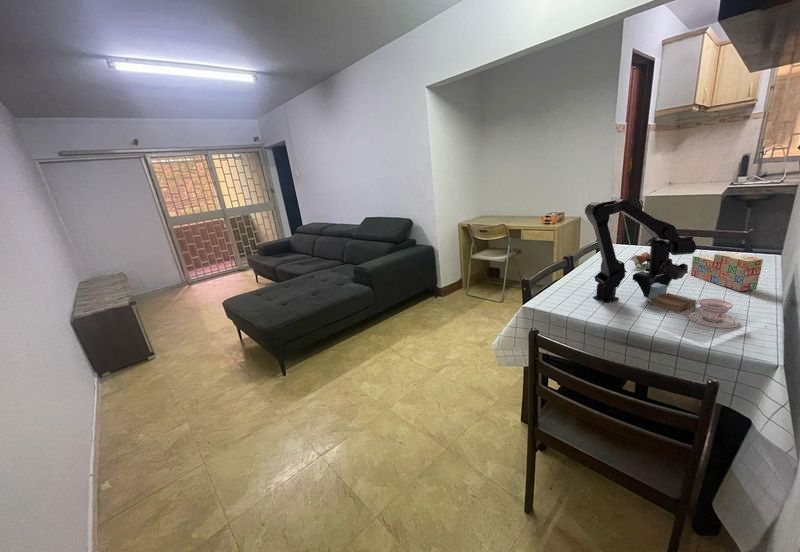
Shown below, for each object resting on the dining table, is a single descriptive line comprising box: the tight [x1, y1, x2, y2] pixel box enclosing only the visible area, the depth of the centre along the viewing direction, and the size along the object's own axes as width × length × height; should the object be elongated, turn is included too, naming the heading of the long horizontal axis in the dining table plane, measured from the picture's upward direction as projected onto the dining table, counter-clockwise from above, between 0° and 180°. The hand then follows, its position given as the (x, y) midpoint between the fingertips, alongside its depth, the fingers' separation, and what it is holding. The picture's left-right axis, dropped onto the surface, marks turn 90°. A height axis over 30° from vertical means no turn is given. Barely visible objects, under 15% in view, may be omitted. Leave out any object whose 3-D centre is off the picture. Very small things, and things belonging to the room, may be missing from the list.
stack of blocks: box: [690, 251, 764, 292], centre depth 129 cm, size 21×6×12 cm, turn 2°
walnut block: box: [650, 292, 697, 313], centre depth 115 cm, size 9×9×3 cm
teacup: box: [688, 297, 740, 329], centre depth 102 cm, size 12×12×6 cm
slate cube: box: [643, 283, 668, 300], centre depth 124 cm, size 5×5×5 cm
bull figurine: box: [629, 251, 650, 269], centre depth 156 cm, size 4×13×8 cm, turn 115°
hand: (654, 294), depth 124 cm, fingers open, 9 cm apart
